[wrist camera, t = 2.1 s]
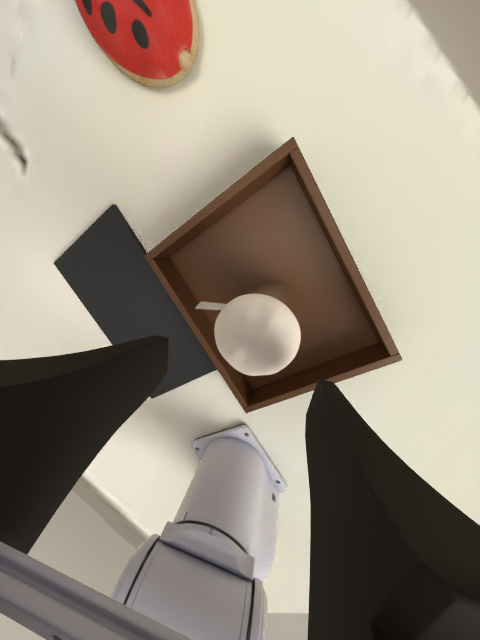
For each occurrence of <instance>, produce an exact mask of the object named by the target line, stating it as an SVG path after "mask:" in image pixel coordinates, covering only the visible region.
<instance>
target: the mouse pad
mask: <svg viewBox="0 0 480 640" xmlns="http://www.w3.org/2000/svg"><path fill="white" fill-rule="evenodd" d="M146 254H147V253H146V251H145V250H144V248H143V247H142V245H141V243H140V242H139V240H138V239H137V237H136V236H135V234H134V233H133V231H132V229H131V228H130V226H129V225H128V223H127V222H126V220H125V219H124V217H123V216H122V214H121V212H120V211H119V209H118V208H117V206H116V205H111V206H110V207H109V208H108V209H107V210H106V211H105V212H104V213H103V214H102V215H101V216H100V217H99V218H98V219H97V220H96V221H95V222H94V223H93V224H92V225H91V226H90V227H89V228H88V229H87V230H86V231H85V232H84V233H83V234H82V235H81V236H80V237H79V238H78V239H77V240H76V241H75V242H74V243H73V244H72V245H71V246H70V247H69V248H68V249H67V250H66V251H65V252H64V253H63V254H62V255H61V256H60V257H59V258H58V259H57V260H56V261H55V262H54V264H55V266H56V267H57V269H58V270H59V271H60V273H61V274H62V275H63V277H64V278H65V280H66V281H67V282H68V284H69V285H70V287H71V288H72V289H73V291H74V292H75V293H76V295H77V296H78V298H79V299H80V300H81V302H82V303H83V305H84V306H85V307H86V309H87V310H88V311H89V313H90V314H91V316H92V317H93V318H94V320H95V321H96V323H97V324H98V325H99V327H100V328H101V329H102V331H103V332H104V334H105V335H106V336H107V338H108V339H109V341H110V342H111V343H112V345H117V344H121V343H125V342H129V341H133V340H137V339H141V338H145V337H150V336H156V335H159V336H163V337H166V338H169V348H168V369H167V374H166V376H165V377H164V379H163V380H162V382H161V383H160V384H159V386H158V387H157V388H156V390H155V391H154V392H153V393H152V394H151V395H150V397H151V399H152V398H154V397H157V396H159V395H161V394H163V393H166V392H168V391H170V390H172V389H175V388H177V387H179V386H181V385H183V384H186V383H188V382H190V381H192V380H195V379H197V378H199V377H201V376H203V375H206V374H208V373H210V372H212V371H215V370H217V368H216V366H215V365H214V363H213V362H212V360H211V359H210V357H209V355H208V354H207V352H206V351H205V349H204V348H203V346H202V345H201V343H200V342H199V340H198V338H197V337H196V335H195V334H194V332H193V331H192V329H191V328H190V326H189V325H188V323H187V322H186V320H185V318H184V317H183V315H182V314H181V312H180V311H179V309H178V308H177V306H176V305H175V303H174V302H173V300H172V298H171V297H170V295H169V294H168V292H167V291H166V289H165V288H164V286H163V285H162V283H161V281H160V280H159V278H158V277H157V275H156V274H155V272H154V271H153V269H152V268H151V266H150V265H149V262H147V260H146V259H145V257H144V256H145V255H146Z"/></svg>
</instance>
